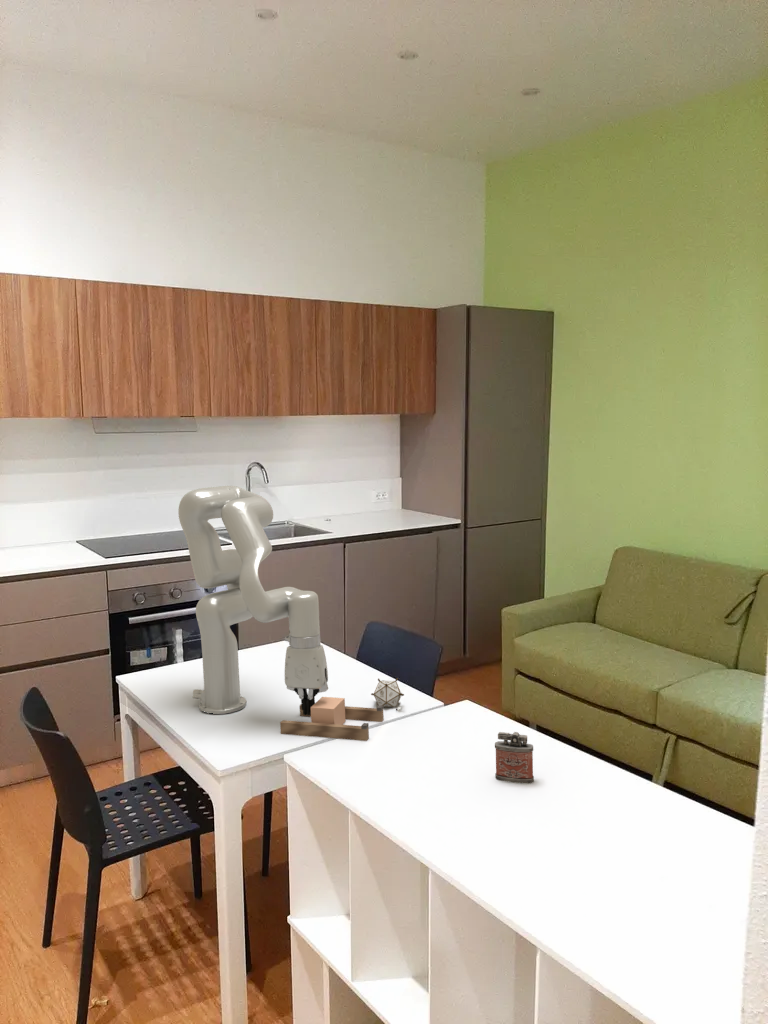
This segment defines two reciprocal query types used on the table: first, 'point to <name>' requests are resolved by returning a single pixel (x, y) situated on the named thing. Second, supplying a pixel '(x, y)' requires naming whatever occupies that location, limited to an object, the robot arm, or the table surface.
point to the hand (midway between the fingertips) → (308, 713)
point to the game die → (387, 693)
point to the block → (328, 711)
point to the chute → (336, 725)
